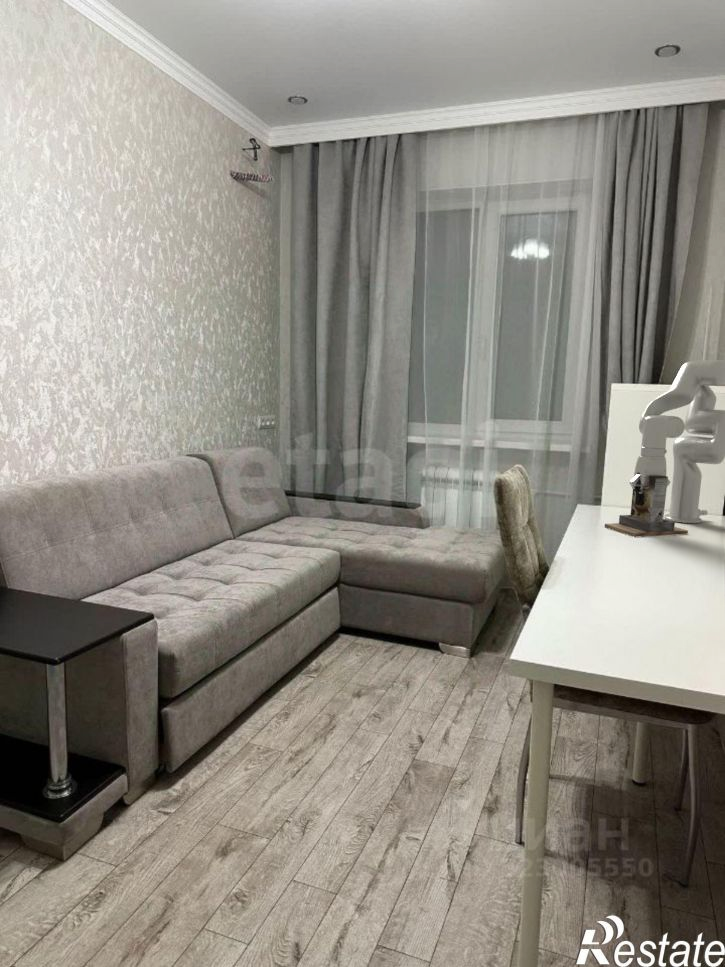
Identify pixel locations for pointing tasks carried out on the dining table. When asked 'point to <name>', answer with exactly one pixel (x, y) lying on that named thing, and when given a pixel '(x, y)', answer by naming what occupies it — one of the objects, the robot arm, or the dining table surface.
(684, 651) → the dining table surface
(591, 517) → the dining table surface
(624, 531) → the slot board
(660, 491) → the coffee box
